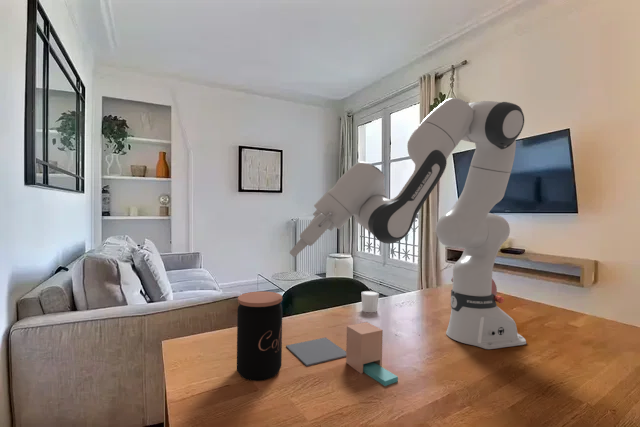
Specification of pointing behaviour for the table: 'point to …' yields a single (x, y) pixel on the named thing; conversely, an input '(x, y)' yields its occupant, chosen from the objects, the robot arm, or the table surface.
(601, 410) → the table surface
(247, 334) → the coffee jar
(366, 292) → the white cylinder
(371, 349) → the cover
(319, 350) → the pad
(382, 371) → the stick
